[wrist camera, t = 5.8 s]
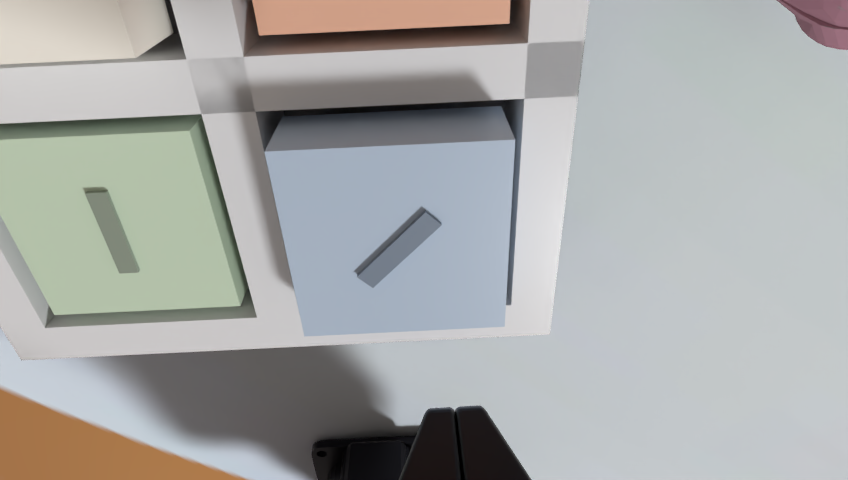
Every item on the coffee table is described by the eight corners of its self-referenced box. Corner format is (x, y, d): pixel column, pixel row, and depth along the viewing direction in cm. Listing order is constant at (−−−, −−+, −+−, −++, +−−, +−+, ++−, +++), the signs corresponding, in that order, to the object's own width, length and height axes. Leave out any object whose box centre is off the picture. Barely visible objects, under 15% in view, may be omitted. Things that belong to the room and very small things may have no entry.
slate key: (494, 279, 16) (505, 329, 14) (315, 288, 16) (303, 339, 14) (501, 106, 13) (516, 142, 11) (282, 116, 13) (263, 154, 11)
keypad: (534, 248, 21) (570, 350, 17) (-36, 275, 21) (-158, 385, 17) (592, -404, 12) (711, -583, 7) (-435, -359, 12) (-971, -508, 7)
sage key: (256, 264, 17) (239, 308, 15) (88, 271, 17) (52, 318, 15) (214, 100, 14) (187, 132, 12) (12, 110, 14) (-44, 144, 12)
